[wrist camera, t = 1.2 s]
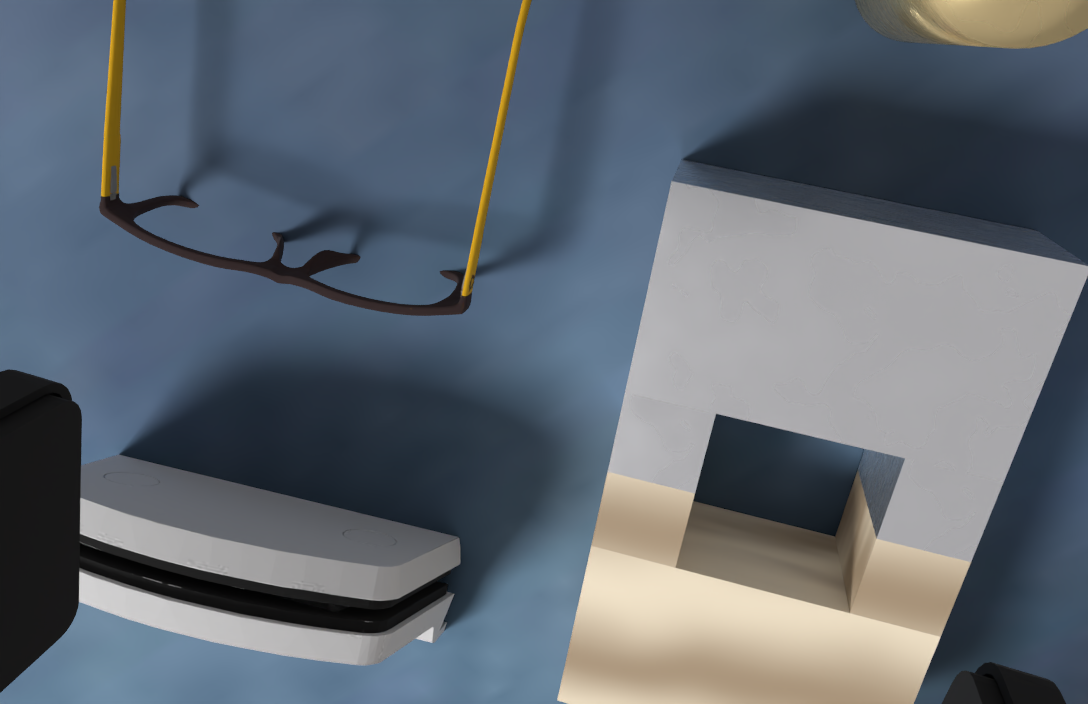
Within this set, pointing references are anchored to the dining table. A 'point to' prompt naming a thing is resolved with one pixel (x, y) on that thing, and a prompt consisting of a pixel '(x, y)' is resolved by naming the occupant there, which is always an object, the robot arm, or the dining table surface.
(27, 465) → the robot arm
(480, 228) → the eyeglasses
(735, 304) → the gray notched block
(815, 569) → the notched wooden block
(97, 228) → the dining table surface
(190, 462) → the dining table surface
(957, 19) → the brass pin
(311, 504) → the white black arched block
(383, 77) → the dining table surface
